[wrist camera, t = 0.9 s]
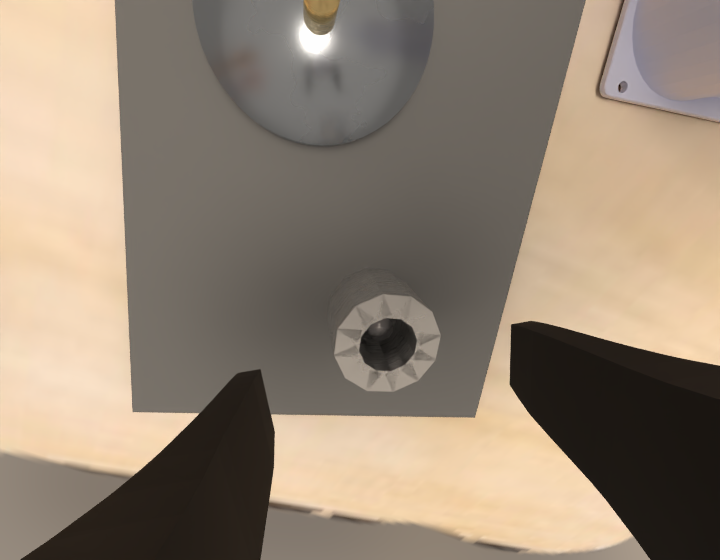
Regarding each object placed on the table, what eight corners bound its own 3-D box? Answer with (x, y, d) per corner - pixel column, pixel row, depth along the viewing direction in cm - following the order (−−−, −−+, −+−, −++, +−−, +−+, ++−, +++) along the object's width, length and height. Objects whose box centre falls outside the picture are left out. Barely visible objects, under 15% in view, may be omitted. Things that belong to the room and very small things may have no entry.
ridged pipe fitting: (418, 272, 18) (449, 299, 15) (404, 349, 20) (428, 393, 16) (333, 264, 18) (342, 290, 14) (323, 345, 19) (329, 390, 15)
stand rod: (383, 299, 18) (395, 317, 16) (380, 320, 19) (390, 341, 17) (360, 297, 18) (369, 316, 16) (357, 319, 19) (365, 340, 16)
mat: (590, -74, 16) (609, -89, 15) (467, 407, 23) (474, 417, 22) (119, -224, 12) (103, -257, 11) (141, 399, 19) (132, 412, 18)
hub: (443, -77, 14) (485, -149, 11) (404, 160, 17) (429, 158, 13) (202, -147, 12) (168, -257, 9) (199, 128, 15) (170, 116, 12)
